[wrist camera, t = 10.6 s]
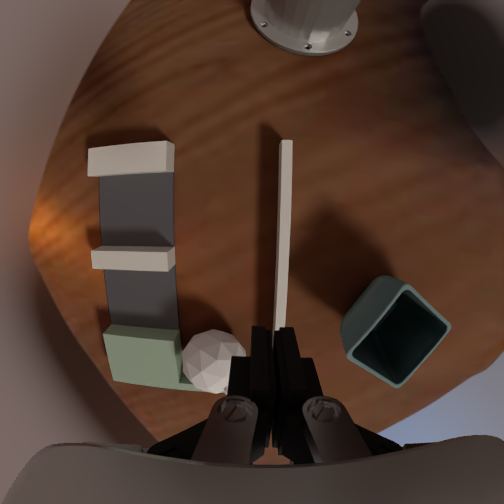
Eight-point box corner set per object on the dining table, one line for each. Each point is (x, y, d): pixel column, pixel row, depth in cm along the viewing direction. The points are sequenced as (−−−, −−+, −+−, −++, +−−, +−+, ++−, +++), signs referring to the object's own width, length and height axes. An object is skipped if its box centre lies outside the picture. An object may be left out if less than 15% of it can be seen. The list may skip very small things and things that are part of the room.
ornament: (238, 311, 33) (269, 369, 28) (224, 348, 37) (249, 400, 32) (178, 318, 30) (202, 384, 24) (172, 357, 34) (192, 414, 28)
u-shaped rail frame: (101, 150, 29) (88, 148, 26) (288, 144, 29) (292, 140, 26) (121, 368, 35) (113, 380, 32) (277, 379, 35) (279, 393, 33)
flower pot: (323, 317, 34) (343, 357, 25) (370, 257, 32) (406, 281, 23) (371, 349, 35) (398, 390, 26) (415, 296, 33) (453, 326, 24)
